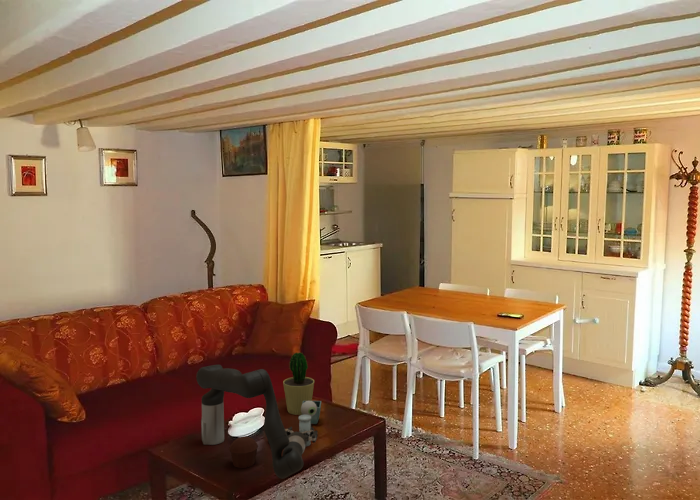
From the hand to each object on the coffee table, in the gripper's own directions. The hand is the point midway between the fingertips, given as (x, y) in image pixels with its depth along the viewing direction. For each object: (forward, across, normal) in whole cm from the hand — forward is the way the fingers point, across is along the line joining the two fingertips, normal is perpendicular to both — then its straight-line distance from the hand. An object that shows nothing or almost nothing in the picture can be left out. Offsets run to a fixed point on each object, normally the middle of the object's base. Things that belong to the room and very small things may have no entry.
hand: (301, 429), depth 238 cm
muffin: (-8, +22, +11) cm, 26 cm away
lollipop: (+23, 0, +11) cm, 25 cm away
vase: (+12, 0, +11) cm, 16 cm away
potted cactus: (+51, +9, +11) cm, 52 cm away
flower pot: (+36, +1, +11) cm, 37 cm away
